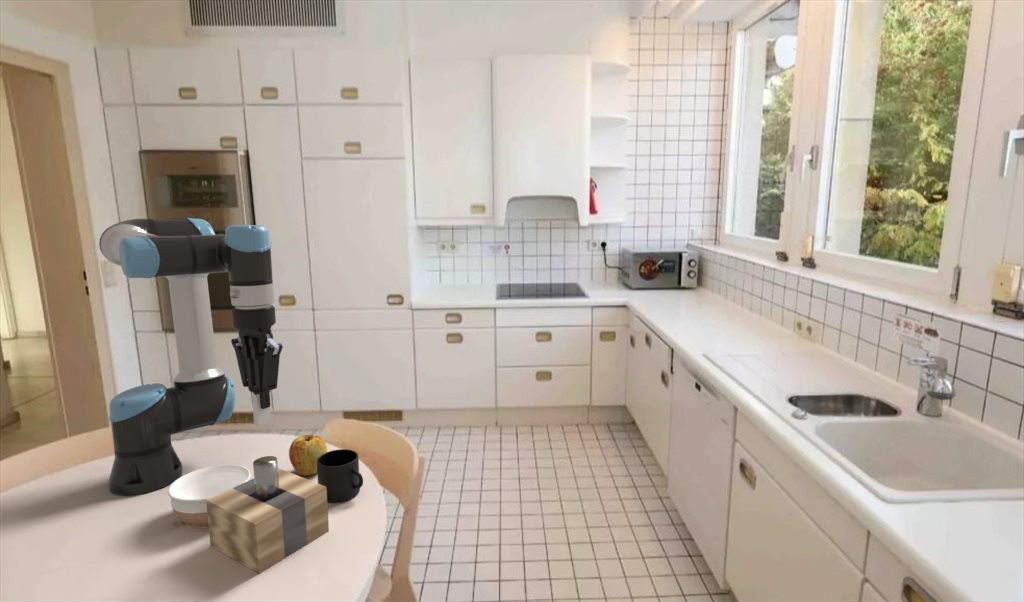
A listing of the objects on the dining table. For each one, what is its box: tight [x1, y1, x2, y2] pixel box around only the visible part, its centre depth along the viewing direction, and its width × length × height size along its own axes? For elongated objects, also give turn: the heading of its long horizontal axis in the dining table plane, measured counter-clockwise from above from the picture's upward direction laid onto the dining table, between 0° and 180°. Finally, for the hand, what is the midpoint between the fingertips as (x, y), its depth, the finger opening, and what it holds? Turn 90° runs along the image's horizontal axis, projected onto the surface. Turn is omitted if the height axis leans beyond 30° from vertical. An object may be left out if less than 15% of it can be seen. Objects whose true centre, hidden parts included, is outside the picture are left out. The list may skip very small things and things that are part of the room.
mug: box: [316, 448, 364, 504], centre depth 128 cm, size 9×12×9 cm
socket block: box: [206, 467, 330, 574], centre depth 110 cm, size 16×16×10 cm
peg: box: [252, 455, 280, 502], centre depth 109 cm, size 4×4×9 cm
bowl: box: [167, 464, 252, 529], centre depth 119 cm, size 16×16×8 cm
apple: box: [288, 434, 328, 477], centre depth 138 cm, size 9×9×10 cm
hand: (262, 422), depth 107 cm, fingers closed
